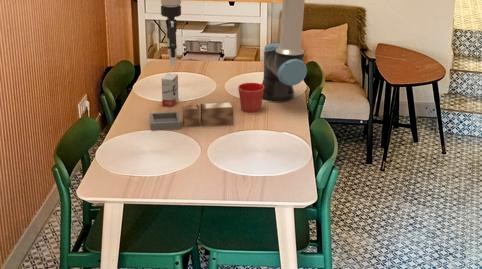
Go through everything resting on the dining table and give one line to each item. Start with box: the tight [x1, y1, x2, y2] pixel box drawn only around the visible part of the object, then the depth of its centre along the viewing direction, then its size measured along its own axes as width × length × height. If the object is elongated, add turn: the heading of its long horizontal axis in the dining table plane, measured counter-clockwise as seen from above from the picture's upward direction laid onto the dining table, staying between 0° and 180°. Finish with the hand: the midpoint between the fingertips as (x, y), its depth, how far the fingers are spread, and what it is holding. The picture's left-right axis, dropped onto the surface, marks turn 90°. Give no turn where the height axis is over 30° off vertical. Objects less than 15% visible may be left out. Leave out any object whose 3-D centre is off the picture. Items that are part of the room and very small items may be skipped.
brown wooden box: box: [199, 102, 234, 127], centre depth 267 cm, size 12×6×7 cm, turn 100°
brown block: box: [182, 104, 201, 128], centre depth 266 cm, size 6×5×7 cm
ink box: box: [161, 72, 179, 107], centre depth 286 cm, size 9×5×12 cm, turn 168°
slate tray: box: [149, 111, 182, 131], centre depth 266 cm, size 11×11×3 cm
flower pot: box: [237, 82, 264, 113], centre depth 281 cm, size 11×11×10 cm
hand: (172, 60), depth 265 cm, fingers open, 13 cm apart
